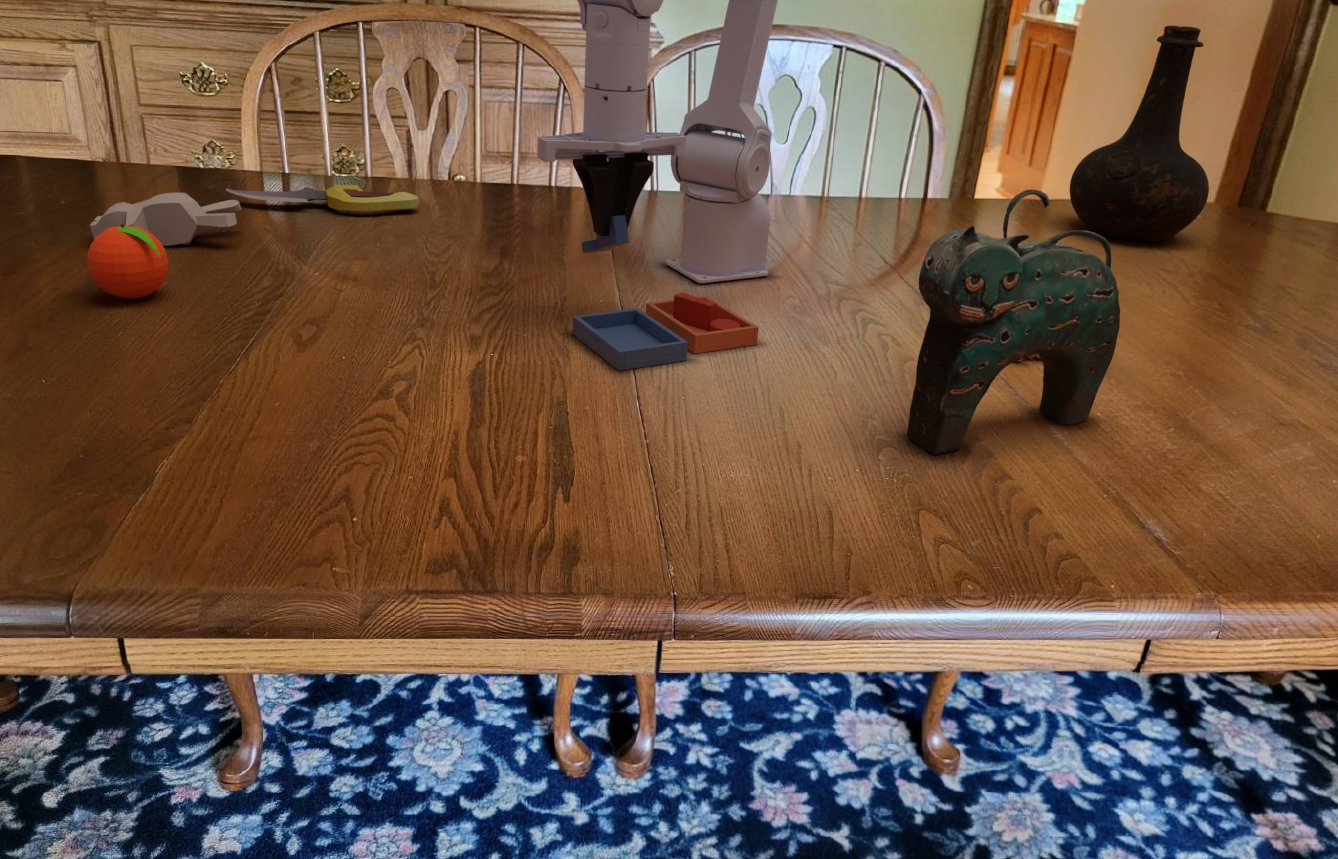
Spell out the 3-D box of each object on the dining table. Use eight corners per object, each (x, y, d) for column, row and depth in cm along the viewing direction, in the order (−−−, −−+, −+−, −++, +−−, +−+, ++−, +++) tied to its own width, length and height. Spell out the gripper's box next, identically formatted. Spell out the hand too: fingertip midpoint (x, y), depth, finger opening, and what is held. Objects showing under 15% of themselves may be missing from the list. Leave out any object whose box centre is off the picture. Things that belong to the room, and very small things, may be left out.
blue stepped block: (577, 253, 106) (574, 227, 105) (604, 251, 107) (601, 225, 107) (608, 244, 99) (605, 216, 99) (636, 242, 101) (633, 214, 100)
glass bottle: (1038, 227, 151) (1083, 18, 139) (1098, 212, 162) (1145, 18, 150) (1159, 258, 139) (1220, 34, 127) (1214, 240, 150) (1276, 32, 138)
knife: (211, 209, 132) (412, 219, 133) (208, 188, 131) (412, 199, 132) (231, 195, 139) (423, 204, 140) (229, 175, 138) (422, 185, 139)
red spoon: (746, 333, 102) (748, 308, 101) (728, 341, 100) (730, 315, 99) (684, 314, 106) (686, 290, 105) (666, 321, 104) (668, 296, 103)
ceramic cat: (925, 466, 80) (975, 204, 71) (873, 431, 85) (913, 182, 76) (1109, 427, 88) (1173, 189, 80) (1052, 397, 94) (1106, 171, 85)
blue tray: (637, 325, 104) (638, 307, 103) (686, 360, 96) (688, 342, 95) (572, 333, 100) (572, 316, 100) (618, 370, 93) (619, 351, 92)
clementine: (197, 296, 103) (187, 224, 100) (138, 315, 98) (125, 240, 94) (138, 281, 106) (126, 211, 103) (77, 299, 100) (63, 226, 97)
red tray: (704, 311, 109) (706, 295, 108) (757, 344, 101) (758, 326, 100) (644, 319, 105) (645, 302, 105) (694, 353, 98) (695, 335, 97)
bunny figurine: (97, 196, 119) (236, 180, 122) (110, 239, 121) (246, 223, 125) (79, 217, 111) (229, 200, 114) (94, 264, 113) (240, 246, 117)
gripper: (560, 94, 90) (557, 250, 96) (706, 93, 96) (695, 238, 102) (528, 82, 95) (527, 230, 101) (669, 81, 102) (660, 220, 108)
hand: (609, 233), depth 102 cm, fingers closed on blue stepped block
